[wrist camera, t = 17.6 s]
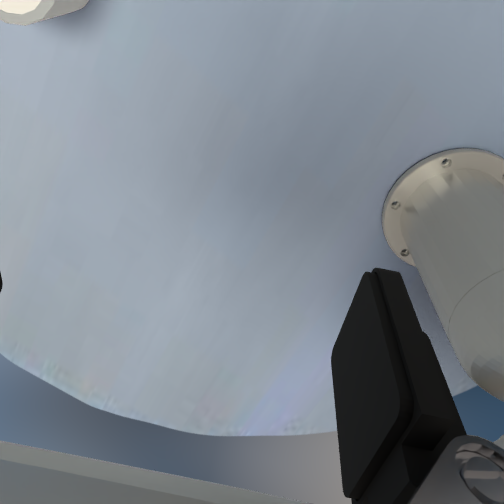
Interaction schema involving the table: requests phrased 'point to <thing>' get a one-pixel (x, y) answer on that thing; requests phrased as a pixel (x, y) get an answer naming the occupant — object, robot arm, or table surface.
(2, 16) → the white cylinder
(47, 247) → the table surface
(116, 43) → the table surface
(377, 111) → the table surface
